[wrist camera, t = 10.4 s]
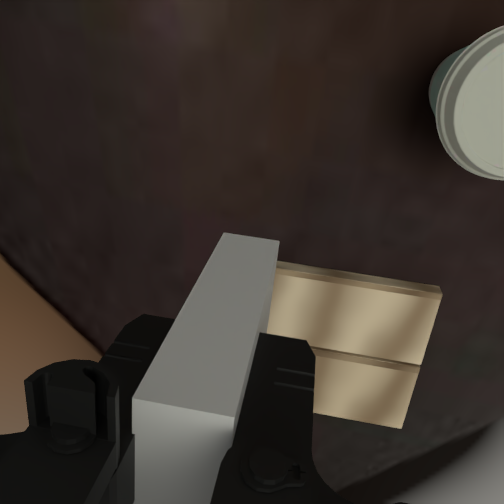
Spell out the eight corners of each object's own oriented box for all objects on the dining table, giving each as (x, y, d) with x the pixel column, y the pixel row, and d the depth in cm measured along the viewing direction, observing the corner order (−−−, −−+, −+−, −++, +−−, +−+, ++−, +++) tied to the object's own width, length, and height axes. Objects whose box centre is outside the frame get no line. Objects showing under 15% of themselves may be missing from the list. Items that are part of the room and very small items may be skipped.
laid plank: (207, 382, 51) (203, 392, 50) (212, 322, 48) (208, 331, 46) (399, 418, 49) (401, 429, 48) (417, 357, 46) (420, 368, 45)
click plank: (212, 320, 48) (208, 328, 46) (217, 251, 45) (214, 258, 43) (418, 355, 46) (421, 365, 44) (438, 286, 43) (442, 294, 41)
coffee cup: (415, 155, 39) (448, 199, 28) (404, 41, 36) (436, 41, 25) (532, 134, 37) (616, 173, 26) (531, 11, 34) (626, -2, 23)
